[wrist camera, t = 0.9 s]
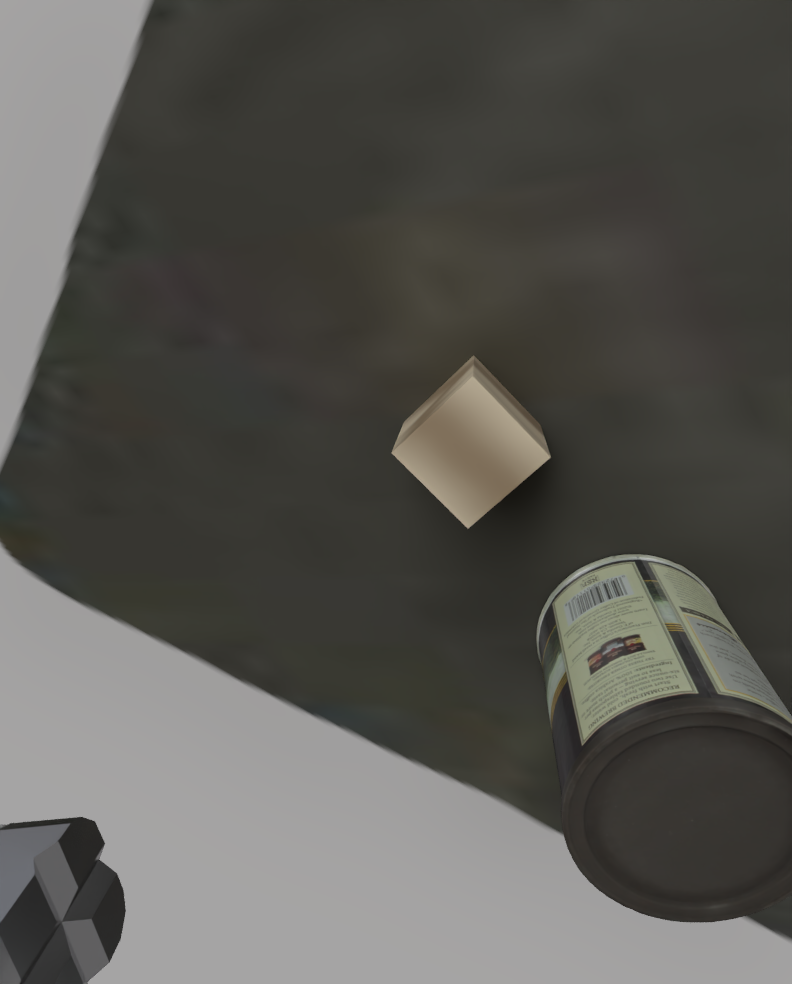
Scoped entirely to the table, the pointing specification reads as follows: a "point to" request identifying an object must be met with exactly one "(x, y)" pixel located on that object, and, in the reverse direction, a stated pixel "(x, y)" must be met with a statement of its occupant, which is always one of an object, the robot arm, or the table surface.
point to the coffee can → (665, 744)
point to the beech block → (471, 443)
